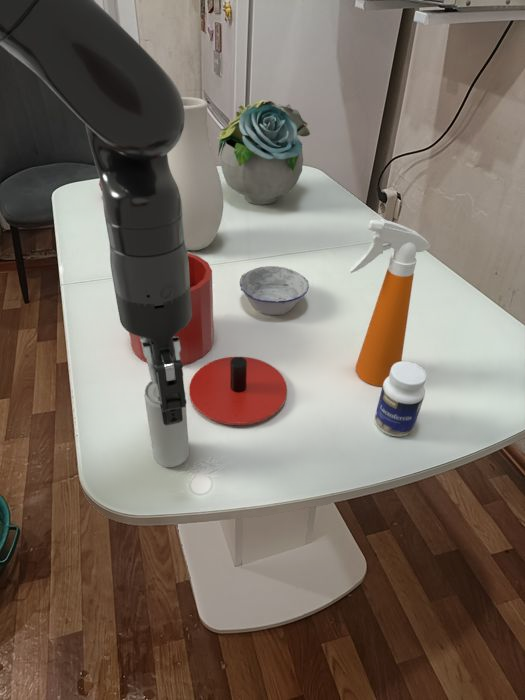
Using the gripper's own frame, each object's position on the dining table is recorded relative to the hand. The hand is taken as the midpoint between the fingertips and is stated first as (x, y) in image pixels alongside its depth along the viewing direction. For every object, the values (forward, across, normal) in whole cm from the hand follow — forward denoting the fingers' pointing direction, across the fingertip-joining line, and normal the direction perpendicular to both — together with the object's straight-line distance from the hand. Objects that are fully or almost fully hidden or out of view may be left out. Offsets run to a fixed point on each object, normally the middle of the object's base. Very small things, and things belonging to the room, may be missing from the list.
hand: (166, 397), depth 61 cm
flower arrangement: (+11, -81, +39) cm, 90 cm away
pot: (+11, -25, +5) cm, 27 cm away
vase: (+11, -59, +16) cm, 62 cm away
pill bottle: (+11, +4, +32) cm, 34 cm away
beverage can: (+11, 0, 0) cm, 11 cm away
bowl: (+11, -31, +25) cm, 42 cm away
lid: (+10, -9, +12) cm, 18 cm away
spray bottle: (+11, -8, +33) cm, 36 cm away
